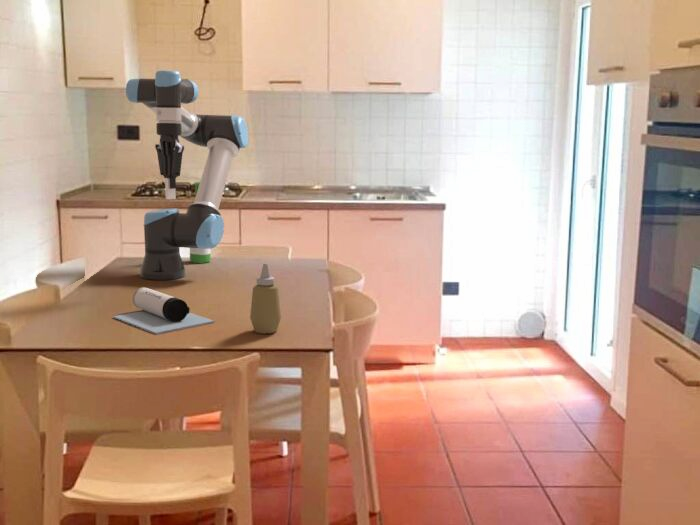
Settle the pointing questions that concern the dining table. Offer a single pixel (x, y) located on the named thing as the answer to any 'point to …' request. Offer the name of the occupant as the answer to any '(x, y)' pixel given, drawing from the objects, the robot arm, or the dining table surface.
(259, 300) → the squeeze bottle
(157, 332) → the mat
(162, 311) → the travel mug
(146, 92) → the robot arm
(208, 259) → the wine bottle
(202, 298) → the dining table surface
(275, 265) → the dining table surface
